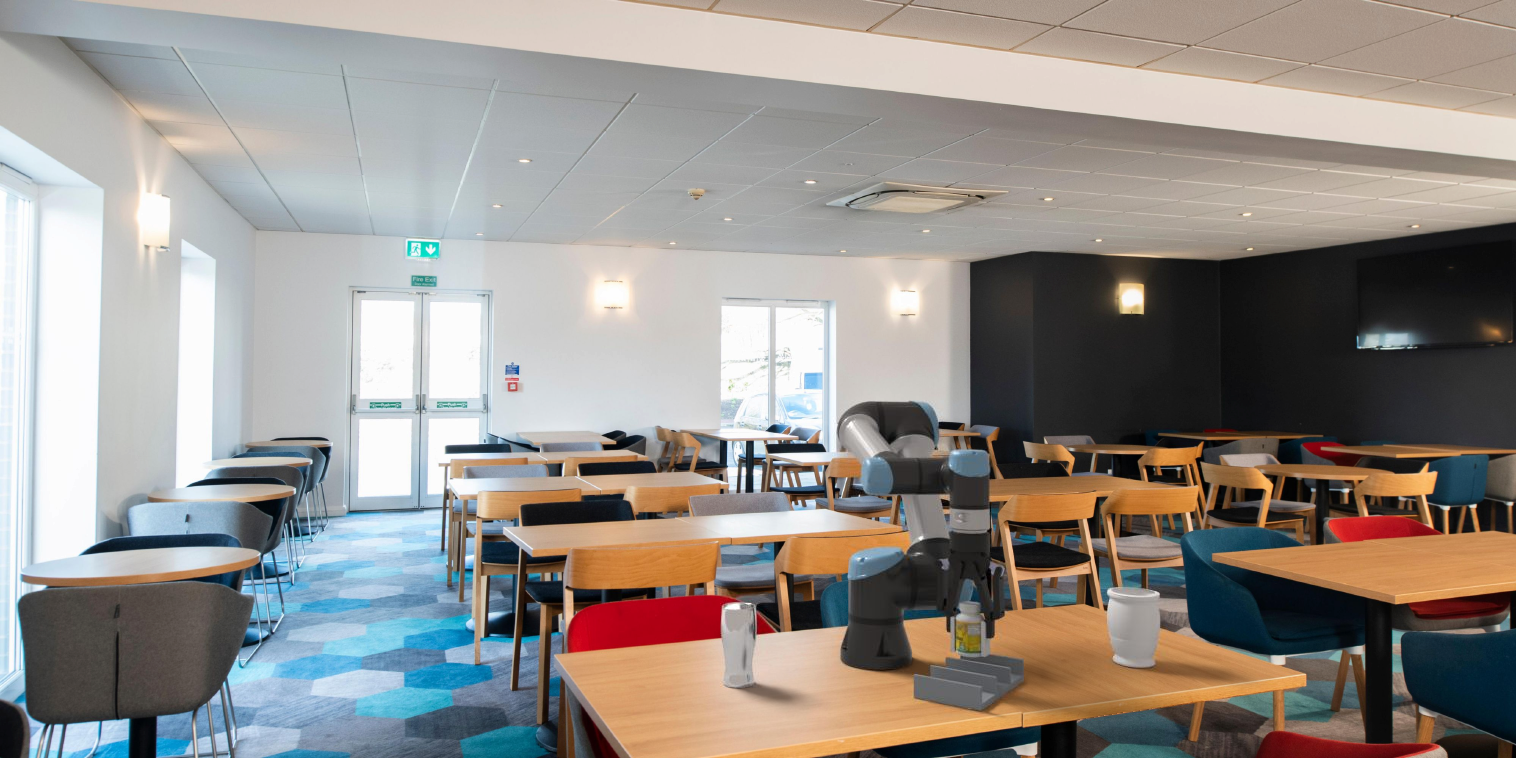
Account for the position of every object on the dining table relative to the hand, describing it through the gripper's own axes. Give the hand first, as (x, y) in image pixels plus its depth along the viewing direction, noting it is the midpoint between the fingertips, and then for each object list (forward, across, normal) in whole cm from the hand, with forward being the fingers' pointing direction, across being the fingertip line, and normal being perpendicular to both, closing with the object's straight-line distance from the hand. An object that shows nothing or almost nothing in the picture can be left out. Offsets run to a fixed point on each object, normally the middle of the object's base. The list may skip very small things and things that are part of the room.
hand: (970, 652), depth 174 cm
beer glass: (+7, -38, -23) cm, 45 cm away
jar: (+7, +21, +37) cm, 43 cm away
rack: (+7, 0, 0) cm, 7 cm away
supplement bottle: (+1, 0, 0) cm, 1 cm away
